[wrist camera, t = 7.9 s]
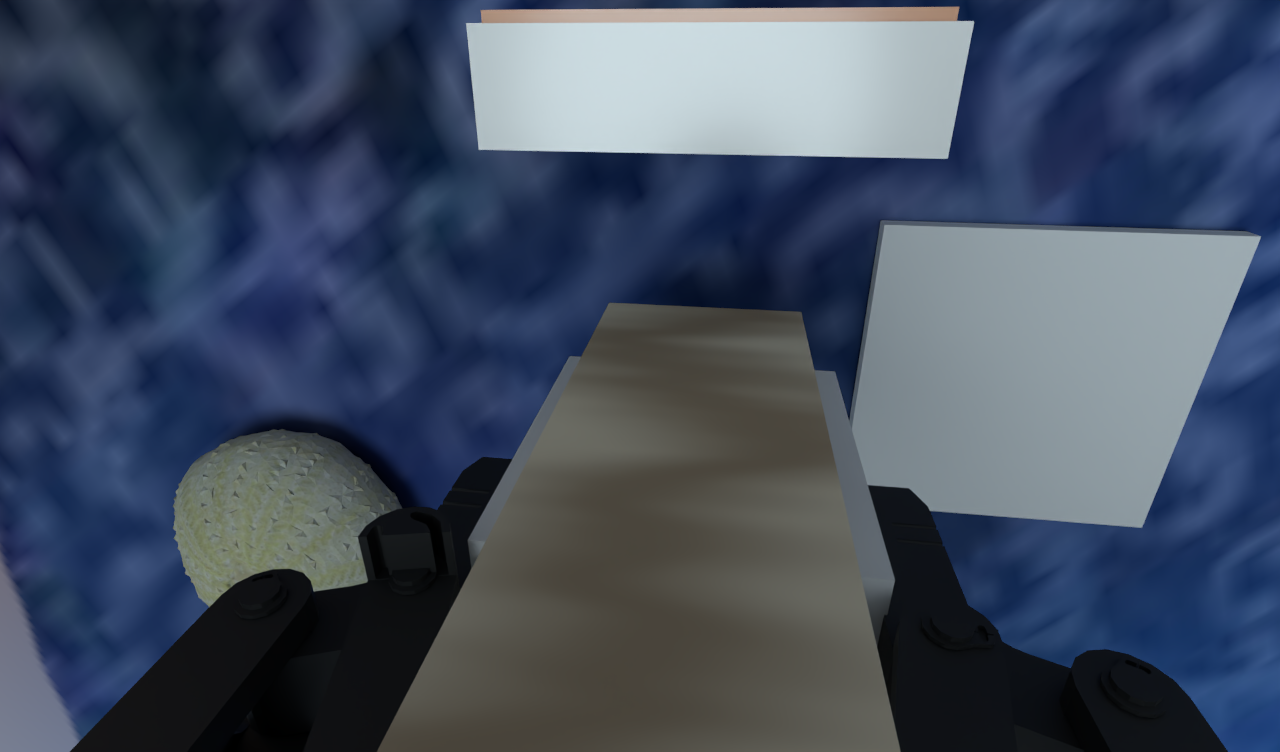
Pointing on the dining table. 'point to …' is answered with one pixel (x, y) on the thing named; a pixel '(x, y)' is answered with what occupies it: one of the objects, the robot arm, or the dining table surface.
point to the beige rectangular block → (665, 563)
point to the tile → (720, 80)
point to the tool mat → (1037, 362)
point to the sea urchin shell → (276, 511)
